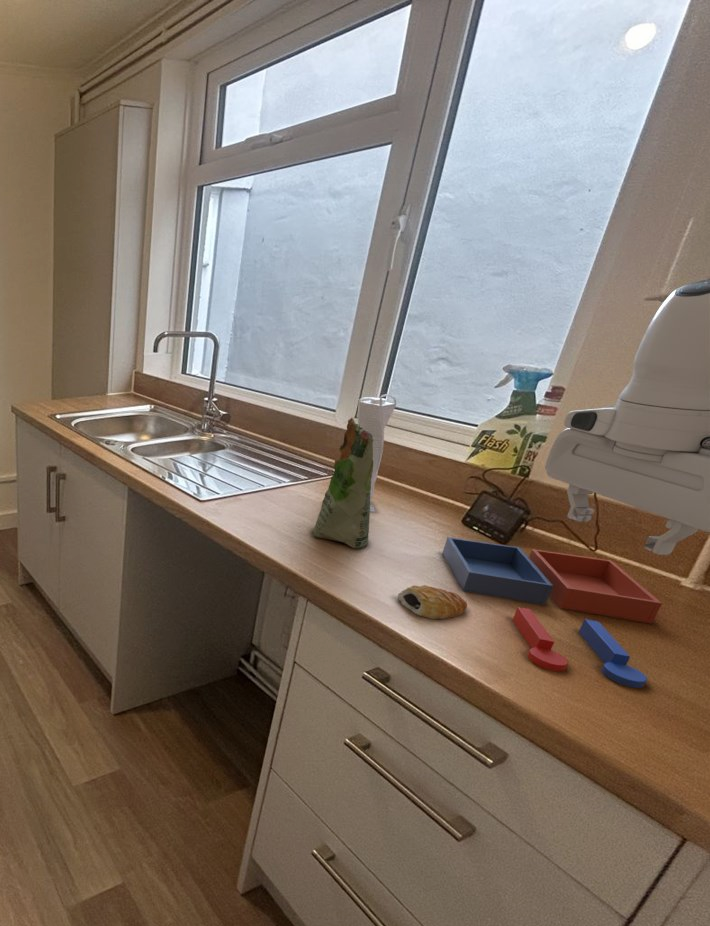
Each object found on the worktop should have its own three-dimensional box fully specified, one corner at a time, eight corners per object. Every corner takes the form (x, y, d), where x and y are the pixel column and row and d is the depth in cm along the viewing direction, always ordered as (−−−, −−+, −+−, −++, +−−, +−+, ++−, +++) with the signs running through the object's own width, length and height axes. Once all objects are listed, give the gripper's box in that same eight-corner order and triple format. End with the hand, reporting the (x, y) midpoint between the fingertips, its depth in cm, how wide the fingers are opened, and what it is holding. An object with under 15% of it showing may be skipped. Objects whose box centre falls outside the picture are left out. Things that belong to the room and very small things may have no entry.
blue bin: (512, 566, 100) (519, 547, 98) (544, 607, 87) (553, 585, 86) (441, 555, 104) (447, 536, 103) (462, 592, 92) (469, 572, 90)
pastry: (443, 597, 90) (450, 577, 89) (477, 620, 84) (485, 599, 83) (392, 600, 90) (398, 580, 88) (422, 623, 83) (429, 603, 82)
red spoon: (533, 626, 82) (540, 610, 81) (570, 676, 72) (577, 660, 71) (502, 620, 84) (507, 605, 83) (532, 668, 73) (539, 652, 72)
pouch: (346, 555, 105) (376, 433, 95) (294, 533, 114) (317, 420, 105) (380, 544, 109) (412, 426, 100) (327, 523, 119) (352, 414, 110)
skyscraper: (376, 516, 123) (407, 396, 112) (337, 511, 125) (363, 393, 115) (370, 503, 130) (398, 389, 119) (333, 499, 133) (357, 387, 122)
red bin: (602, 580, 95) (612, 560, 93) (650, 625, 82) (662, 603, 81) (524, 568, 99) (531, 548, 98) (558, 609, 87) (567, 588, 85)
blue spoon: (601, 638, 79) (608, 623, 78) (649, 693, 69) (659, 676, 68) (567, 632, 81) (573, 616, 80) (609, 684, 70) (617, 668, 69)
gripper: (813, 452, 52) (743, 575, 57) (600, 409, 70) (562, 504, 76) (751, 453, 51) (686, 577, 57) (554, 410, 70) (519, 505, 76)
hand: (614, 535), depth 66 cm, fingers open, 8 cm apart
